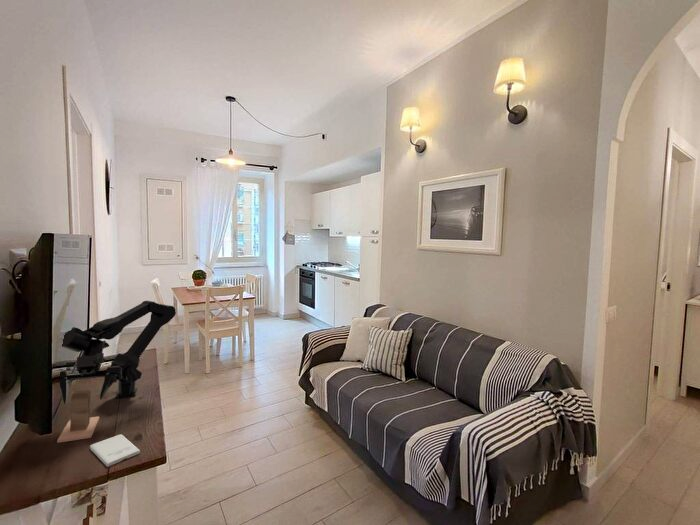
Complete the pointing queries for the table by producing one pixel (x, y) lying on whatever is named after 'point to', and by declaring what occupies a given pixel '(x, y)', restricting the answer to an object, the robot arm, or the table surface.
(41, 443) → the table surface
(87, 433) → the terracotta mat
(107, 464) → the external hard drive
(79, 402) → the brown rectangular block
